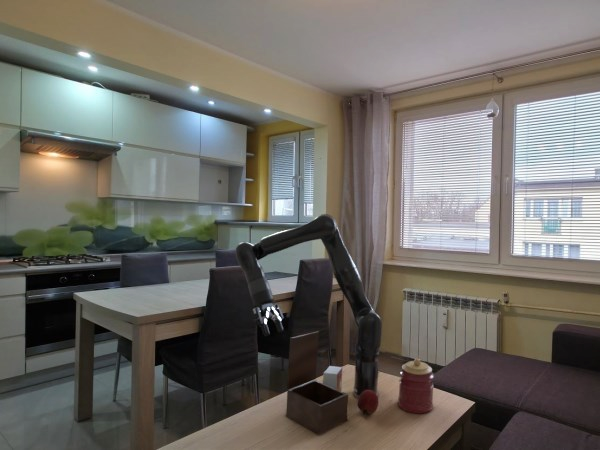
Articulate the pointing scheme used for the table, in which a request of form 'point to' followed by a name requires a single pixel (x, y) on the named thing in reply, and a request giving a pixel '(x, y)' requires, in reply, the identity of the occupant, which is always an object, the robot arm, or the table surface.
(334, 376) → the small box
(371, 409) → the apple
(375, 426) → the table surface
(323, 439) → the table surface
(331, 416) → the chest
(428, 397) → the kitchen canister
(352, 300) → the robot arm
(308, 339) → the lid
